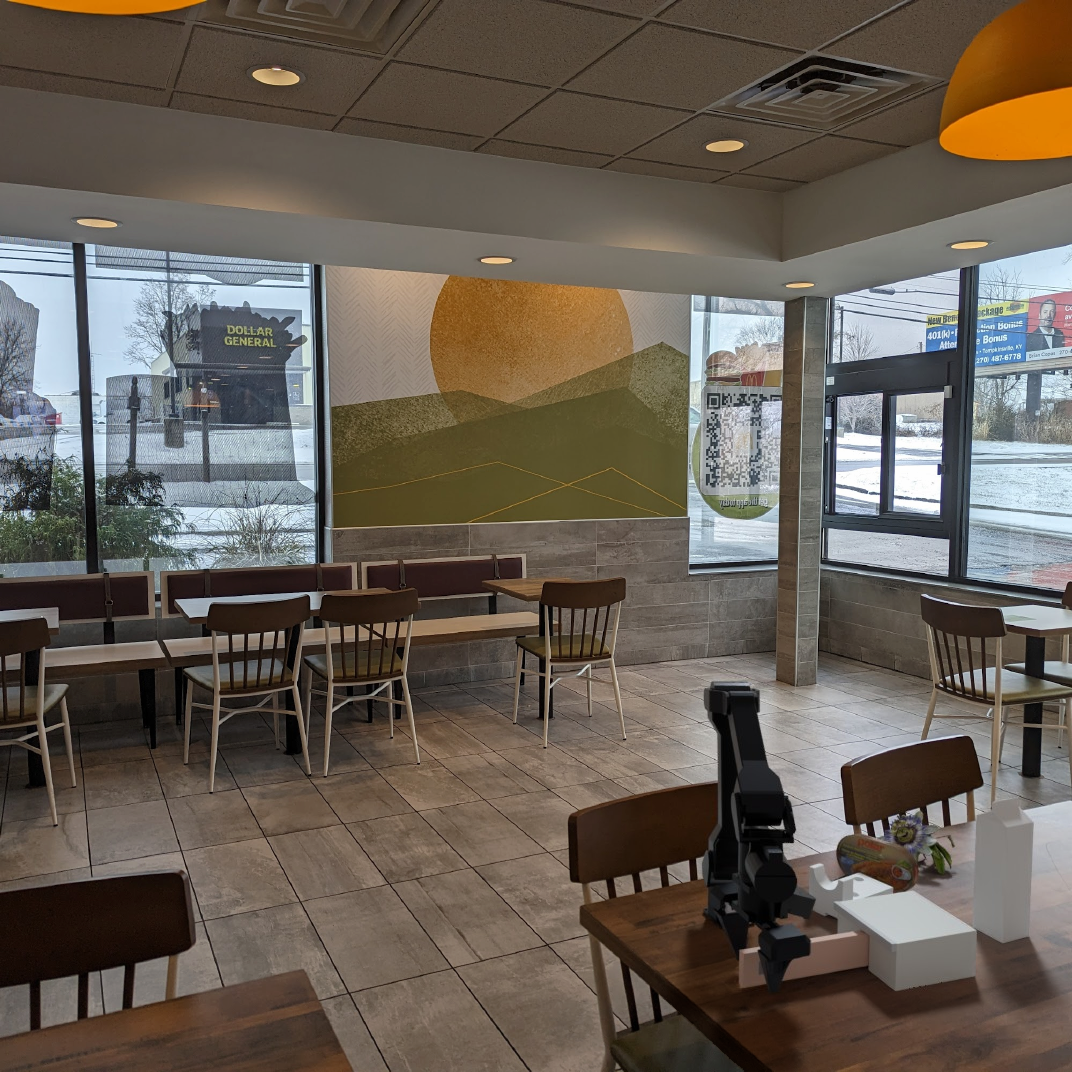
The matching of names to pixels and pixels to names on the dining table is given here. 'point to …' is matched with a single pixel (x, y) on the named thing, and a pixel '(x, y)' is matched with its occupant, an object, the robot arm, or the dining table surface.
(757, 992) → the dining table surface
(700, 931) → the dining table surface
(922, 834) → the passion flower
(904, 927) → the white box
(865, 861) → the tin
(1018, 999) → the dining table surface
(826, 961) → the pink plank
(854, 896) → the bracket
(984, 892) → the milk
